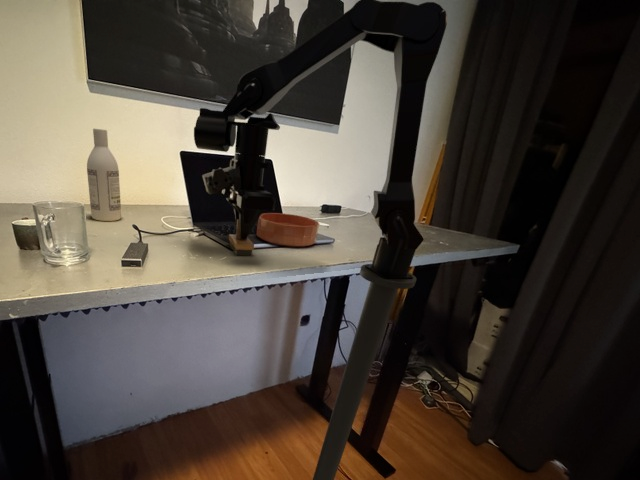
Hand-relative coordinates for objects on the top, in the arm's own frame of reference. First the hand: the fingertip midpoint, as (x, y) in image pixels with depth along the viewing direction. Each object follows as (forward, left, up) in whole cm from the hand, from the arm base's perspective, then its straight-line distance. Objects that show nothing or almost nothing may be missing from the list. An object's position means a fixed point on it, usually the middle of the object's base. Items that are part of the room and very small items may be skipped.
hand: (241, 237), depth 67 cm
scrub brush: (0, 0, -3) cm, 3 cm away
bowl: (+10, -14, -3) cm, 17 cm away
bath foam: (+24, +29, -3) cm, 38 cm away
